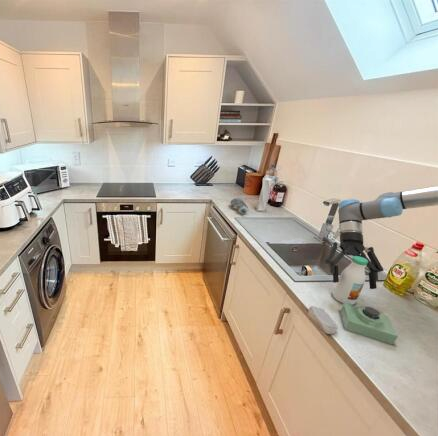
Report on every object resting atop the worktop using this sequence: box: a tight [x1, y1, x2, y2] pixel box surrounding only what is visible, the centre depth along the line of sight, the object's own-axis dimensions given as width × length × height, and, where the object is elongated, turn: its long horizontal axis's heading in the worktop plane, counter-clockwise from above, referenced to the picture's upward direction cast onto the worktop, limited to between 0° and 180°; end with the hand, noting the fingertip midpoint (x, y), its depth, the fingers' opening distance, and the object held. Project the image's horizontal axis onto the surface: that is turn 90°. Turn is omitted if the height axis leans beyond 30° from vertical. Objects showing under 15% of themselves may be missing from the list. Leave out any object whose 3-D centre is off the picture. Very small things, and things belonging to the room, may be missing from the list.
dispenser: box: [339, 303, 399, 345], centre depth 85 cm, size 13×10×6 cm
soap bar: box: [307, 305, 339, 335], centre depth 87 cm, size 10×6×6 cm, turn 174°
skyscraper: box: [255, 174, 274, 213], centre depth 188 cm, size 8×8×28 cm
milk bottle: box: [332, 256, 368, 306], centre depth 95 cm, size 8×8×20 cm
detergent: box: [230, 197, 249, 215], centre depth 191 cm, size 13×7×25 cm
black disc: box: [363, 306, 381, 319], centre depth 84 cm, size 4×4×2 cm
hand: (354, 285), depth 93 cm, fingers open, 12 cm apart
